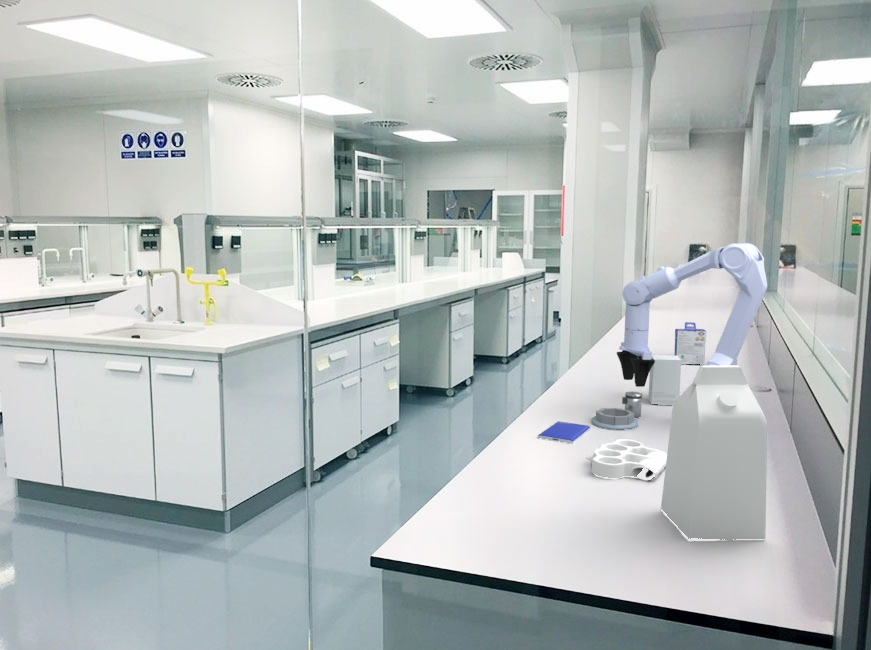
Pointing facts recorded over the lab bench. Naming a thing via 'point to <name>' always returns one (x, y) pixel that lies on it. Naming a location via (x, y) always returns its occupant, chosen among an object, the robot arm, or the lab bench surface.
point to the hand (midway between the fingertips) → (634, 382)
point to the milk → (717, 458)
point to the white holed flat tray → (626, 459)
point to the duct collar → (614, 419)
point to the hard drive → (564, 432)
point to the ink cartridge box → (690, 344)
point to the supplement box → (664, 380)
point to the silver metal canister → (633, 403)
